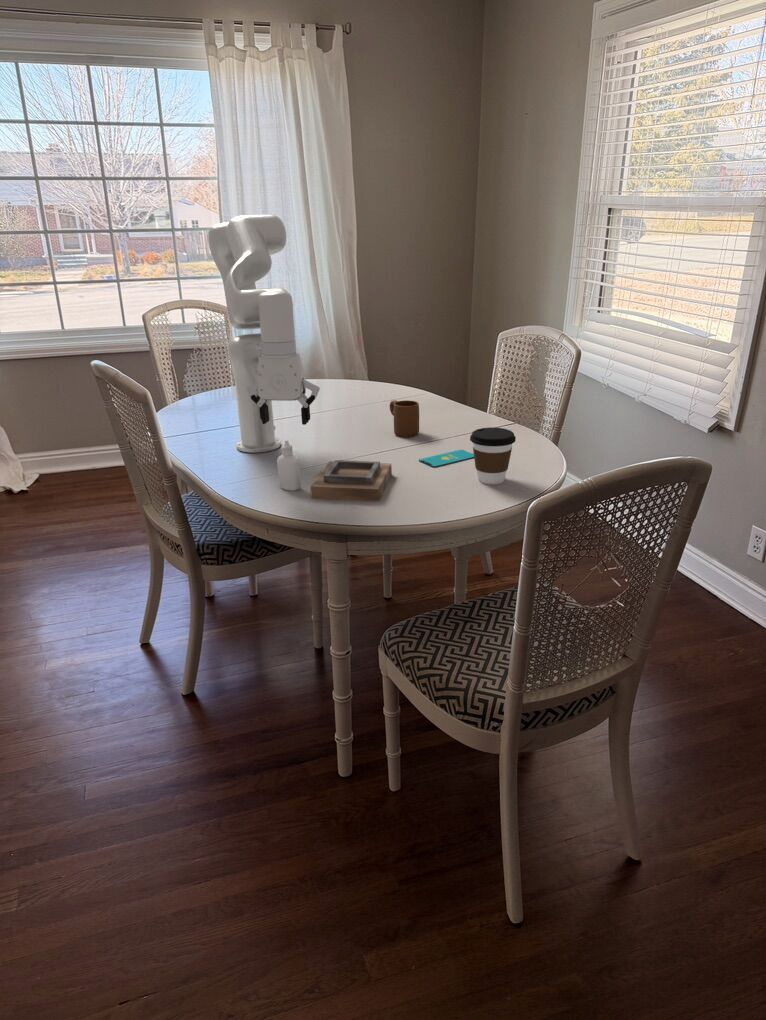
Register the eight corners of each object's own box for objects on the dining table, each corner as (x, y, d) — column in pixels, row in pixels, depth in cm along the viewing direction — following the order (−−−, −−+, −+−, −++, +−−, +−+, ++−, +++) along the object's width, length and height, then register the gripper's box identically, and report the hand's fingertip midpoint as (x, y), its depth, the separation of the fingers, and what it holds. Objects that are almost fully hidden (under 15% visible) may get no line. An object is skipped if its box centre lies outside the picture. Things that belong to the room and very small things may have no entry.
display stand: (330, 472, 182) (329, 455, 180) (391, 474, 179) (391, 457, 177) (311, 498, 165) (310, 480, 164) (378, 501, 162) (378, 483, 161)
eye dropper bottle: (294, 482, 175) (291, 436, 170) (302, 489, 170) (299, 442, 166) (278, 485, 173) (273, 439, 169) (285, 493, 169) (281, 445, 164)
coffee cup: (459, 480, 174) (460, 433, 169) (487, 469, 181) (488, 424, 176) (495, 491, 166) (497, 442, 162) (522, 479, 173) (525, 432, 169)
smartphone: (478, 455, 190) (433, 466, 182) (478, 458, 190) (433, 469, 183) (461, 449, 196) (417, 459, 188) (461, 451, 196) (417, 462, 188)
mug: (380, 430, 216) (380, 400, 212) (401, 425, 219) (400, 396, 216) (403, 439, 206) (403, 408, 203) (424, 434, 210) (424, 403, 206)
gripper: (236, 351, 157) (244, 426, 163) (311, 351, 154) (317, 427, 160) (248, 346, 164) (255, 418, 170) (320, 346, 161) (325, 419, 167)
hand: (285, 423), depth 165 cm, fingers open, 9 cm apart
